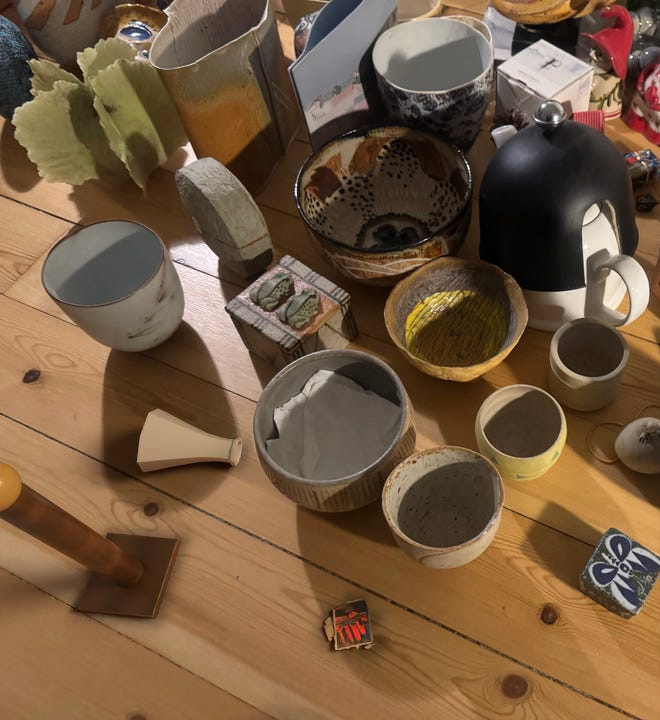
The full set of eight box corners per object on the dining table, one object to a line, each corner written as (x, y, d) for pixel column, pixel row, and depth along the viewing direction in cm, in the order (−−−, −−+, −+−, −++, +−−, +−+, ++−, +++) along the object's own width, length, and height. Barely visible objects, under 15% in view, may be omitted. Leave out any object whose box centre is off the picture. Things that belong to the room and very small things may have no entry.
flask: (150, 473, 82) (238, 485, 83) (129, 469, 75) (225, 482, 76) (165, 412, 84) (250, 424, 85) (145, 402, 77) (238, 416, 78)
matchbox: (363, 594, 73) (362, 593, 73) (381, 641, 71) (381, 640, 70) (320, 615, 72) (319, 614, 72) (337, 664, 70) (336, 663, 69)
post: (82, 610, 73) (-105, 524, 51) (111, 535, 78) (-50, 425, 55) (156, 618, 73) (0, 533, 50) (181, 541, 77) (47, 432, 54)
